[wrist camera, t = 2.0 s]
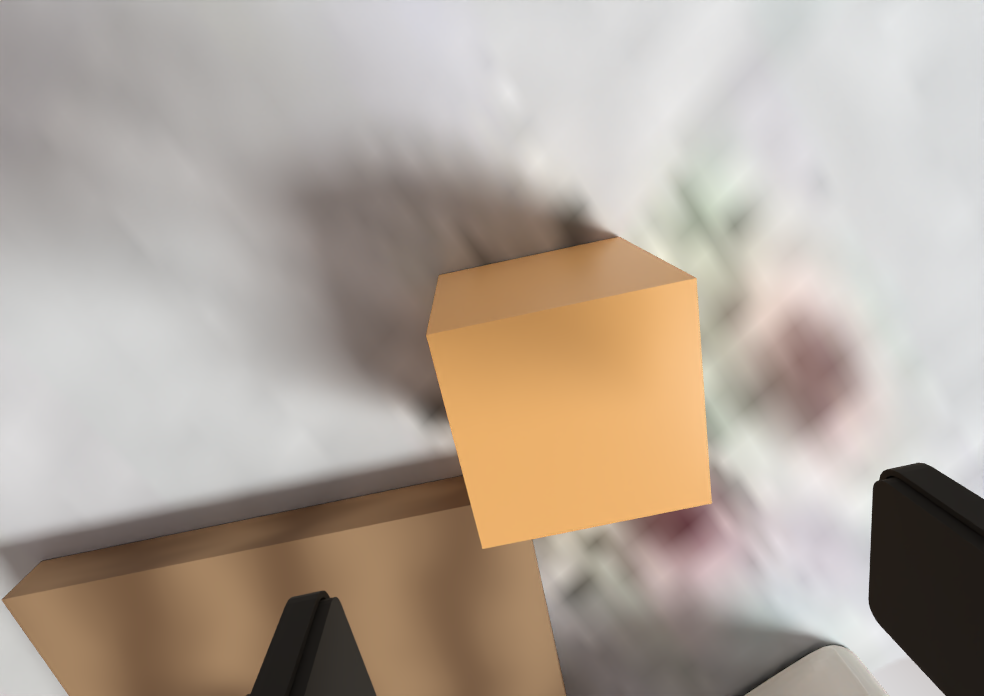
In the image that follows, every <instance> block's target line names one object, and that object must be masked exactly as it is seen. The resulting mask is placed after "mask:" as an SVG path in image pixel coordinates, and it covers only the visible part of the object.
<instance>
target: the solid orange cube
mask: <svg viewBox="0 0 984 696" xmlns="http://www.w3.org/2000/svg"><path fill="white" fill-rule="evenodd" d="M426 337H427V341H428V345H429V348H430V352H431V356H432V360H433V363H434V367H435V371H436V375H437V379H438V382H439V386H440V390H441V394H442V397H443V401H444V405H445V409H446V413H447V416H448V420H449V424H450V428H451V432H452V435H453V439H454V443H455V447H456V450H457V454H458V458H459V462H460V466H461V469H462V473H463V477H464V481H465V484H466V488H467V492H468V496H469V500H470V503H471V507H472V511H473V515H474V519H475V522H476V526H477V530H478V534H479V537H480V541H481V545H482V549H486V548H491V547H496V546H501V545H506V544H511V543H516V542H521V541H526V540H531V539H536V538H541V537H546V536H551V535H556V534H561V533H566V532H571V531H576V530H581V529H586V528H591V527H596V526H601V525H606V524H611V523H616V522H621V521H626V520H631V519H636V518H641V517H646V516H651V515H656V514H661V513H666V512H671V511H676V510H681V509H686V508H691V507H696V506H701V505H706V504H711V503H712V502H711V487H710V472H709V457H708V442H707V428H706V413H705V398H704V383H703V368H702V354H701V339H700V324H699V309H698V294H697V280H696V278H695V277H693V276H692V275H690V274H688V273H686V272H684V271H682V270H680V269H678V268H677V267H675V266H673V265H671V264H669V263H667V262H665V261H664V260H662V259H660V258H658V257H656V256H654V255H652V254H650V253H649V252H647V251H645V250H643V249H641V248H639V247H637V246H636V245H634V244H632V243H630V242H628V241H626V240H624V239H622V238H621V237H615V238H610V239H606V240H601V241H596V242H591V243H587V244H582V245H577V246H573V247H568V248H563V249H559V250H554V251H549V252H545V253H540V254H535V255H531V256H526V257H521V258H517V259H512V260H507V261H502V262H498V263H493V264H488V265H484V266H479V267H474V268H470V269H465V270H460V271H456V272H451V273H446V274H442V275H439V277H438V282H437V286H436V291H435V295H434V300H433V305H432V309H431V314H430V319H429V323H428V328H427V333H426Z"/></svg>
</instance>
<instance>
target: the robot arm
mask: <svg viewBox="0 0 984 696" xmlns="http://www.w3.org/2000/svg"><path fill="white" fill-rule="evenodd" d="M869 606H870V609H871V611H872V614H873V616H874V617H875V619H876V621H877V622H878V623H879V624H880V626H881V627H882V628H883V629H884V630H885V631H886V632H887V633H888V634H889V635H890V636H891V638H892V639H893V640H894V641H895V642H896V643H897V644H898V645H899V646H900V647H901V648H902V649H903V650H904V652H905V653H906V654H907V655H908V656H909V657H910V658H911V659H912V660H913V661H914V662H915V663H916V664H917V665H918V666H919V668H920V669H921V670H922V671H923V672H924V673H925V674H926V675H927V676H928V677H929V678H930V679H931V680H932V682H933V683H934V684H935V685H936V686H937V687H938V688H939V689H940V690H941V691H942V692H943V693H944V694H945V695H946V696H984V499H983V498H981V497H980V496H978V495H976V494H975V493H973V492H972V491H970V490H968V489H967V488H965V487H963V486H962V485H960V484H959V483H957V482H955V481H954V480H952V479H951V478H949V477H947V476H946V475H944V474H943V473H941V472H939V471H938V470H936V469H935V468H933V467H931V466H929V465H927V464H925V463H915V464H910V465H906V466H901V467H896V468H892V469H887V470H885V471H883V472H882V474H881V475H880V479H879V481H876V482H875V484H874V486H873V501H872V526H871V551H870V576H869ZM246 696H377V695H376V693H375V690H374V687H373V685H372V682H371V680H370V677H369V674H368V672H367V669H366V667H365V664H364V661H363V659H362V656H361V654H360V651H359V648H358V646H357V643H356V641H355V638H354V635H353V633H352V630H351V628H350V625H349V622H348V620H347V617H346V615H345V612H344V609H343V607H342V604H341V602H340V600H339V599H338V598H337V597H333V598H330V597H329V595H328V593H327V592H326V591H318V592H313V593H308V594H304V595H299V596H294V597H291V598H290V599H289V600H288V601H287V603H286V605H285V607H284V610H283V613H282V615H281V618H280V620H279V623H278V625H277V628H276V630H275V633H274V635H273V638H272V640H271V643H270V645H269V648H268V651H267V653H266V656H265V658H264V661H263V663H262V666H261V668H260V671H259V673H258V676H257V678H256V681H255V683H254V686H253V688H252V691H251V693H250V694H247V695H246Z"/></svg>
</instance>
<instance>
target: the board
mask: <svg viewBox="0 0 984 696" xmlns="http://www.w3.org/2000/svg"><path fill="white" fill-rule="evenodd" d="M318 591H326V592H327V593H328V595H329V597H330V598H333V597H337V598H338V599H339V600H340V602H341V604H342V607H343V609H344V612H345V615H346V617H347V620H348V622H349V625H350V628H351V630H352V633H353V635H354V638H355V641H356V643H357V646H358V648H359V651H360V654H361V656H362V659H363V661H364V664H365V667H366V669H367V672H368V674H369V677H370V680H371V682H372V685H373V687H374V690H375V693H376V695H377V696H567V695H566V690H565V686H564V681H563V677H562V672H561V668H560V663H559V658H558V654H557V649H556V645H555V640H554V636H553V631H552V627H551V622H550V618H549V613H548V609H547V604H546V599H545V595H544V590H543V586H542V581H541V577H540V572H539V568H538V563H537V559H536V554H535V550H534V545H533V540H532V539H531V540H526V541H521V542H516V543H511V544H506V545H501V546H496V547H491V548H486V549H482V545H481V541H480V537H479V534H478V530H477V526H476V522H475V519H474V515H473V511H472V507H471V503H470V500H469V496H468V492H467V488H466V484H465V481H464V477H463V476H458V477H453V478H448V479H443V480H439V481H434V482H429V483H424V484H419V485H414V486H409V487H404V488H399V489H394V490H389V491H384V492H380V493H375V494H370V495H365V496H360V497H355V498H350V499H345V500H340V501H335V502H330V503H325V504H321V505H316V506H311V507H306V508H301V509H296V510H291V511H286V512H281V513H276V514H271V515H266V516H261V517H257V518H252V519H247V520H242V521H237V522H232V523H227V524H222V525H217V526H212V527H207V528H202V529H198V530H193V531H188V532H183V533H178V534H173V535H168V536H163V537H158V538H153V539H148V540H143V541H139V542H134V543H129V544H124V545H119V546H114V547H109V548H104V549H99V550H94V551H89V552H84V553H80V554H75V555H70V556H65V557H60V558H55V559H50V560H45V561H41V562H40V563H39V564H38V565H37V566H36V567H35V568H34V569H33V570H32V571H31V572H30V573H29V574H28V575H27V576H26V577H25V578H24V579H23V580H21V581H20V582H19V583H18V584H17V585H16V586H15V587H14V588H13V589H12V590H11V591H10V592H9V593H8V594H7V595H6V596H5V597H4V598H3V599H2V601H3V603H4V604H5V605H6V607H7V608H8V610H9V611H10V612H11V614H12V615H13V617H14V618H15V620H16V621H17V622H18V624H19V625H20V627H21V628H22V630H23V631H24V632H25V634H26V635H27V637H28V638H29V640H30V641H31V642H32V644H33V645H34V647H35V648H36V650H37V651H38V652H39V654H40V655H41V657H42V658H43V659H44V661H45V662H46V664H47V665H48V667H49V668H50V669H51V671H52V672H53V674H54V675H55V677H56V678H57V679H58V681H59V682H60V684H61V685H62V687H63V688H64V689H65V691H66V692H67V694H68V695H69V696H246V695H247V694H250V693H251V691H252V688H253V686H254V683H255V681H256V678H257V676H258V673H259V671H260V668H261V666H262V663H263V661H264V658H265V656H266V653H267V651H268V648H269V645H270V643H271V640H272V638H273V635H274V633H275V630H276V628H277V625H278V623H279V620H280V618H281V615H282V613H283V610H284V607H285V605H286V603H287V601H288V600H289V599H290V598H291V597H294V596H299V595H304V594H308V593H313V592H318Z"/></svg>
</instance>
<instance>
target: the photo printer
mask: <svg viewBox="0 0 984 696" xmlns="http://www.w3.org/2000/svg"><path fill="white" fill-rule="evenodd" d="M744 696H889V695H888V694H887V692H886V691H885V690H884V688H883V687H882V686H881V685H880V684H879V682H878V681H877V680H876V678H875V677H874V676H873V675H872V673H871V672H870V671H869V670H868V669H867V667H866V666H865V665H864V664H863V662H862V661H861V660H860V659H859V658H858V656H857V655H856V654H855V653H853V652H852V651H850V650H849V649H847V648H844V647H841V646H837V645H829V646H824V647H822V648H820V649H818V650H816V651H814V652H812V653H810V654H808V655H807V656H805V657H803V658H802V659H800V660H798V661H797V662H795V663H794V664H792V665H790V666H789V667H787V668H786V669H784V670H783V671H781V672H779V673H778V674H776V675H775V676H773V677H772V678H770V679H768V680H767V681H765V682H764V683H762V684H761V685H759V686H758V687H756V688H755V689H753V690H752V691H750V692H749V693H747V694H746V695H744Z"/></svg>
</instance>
